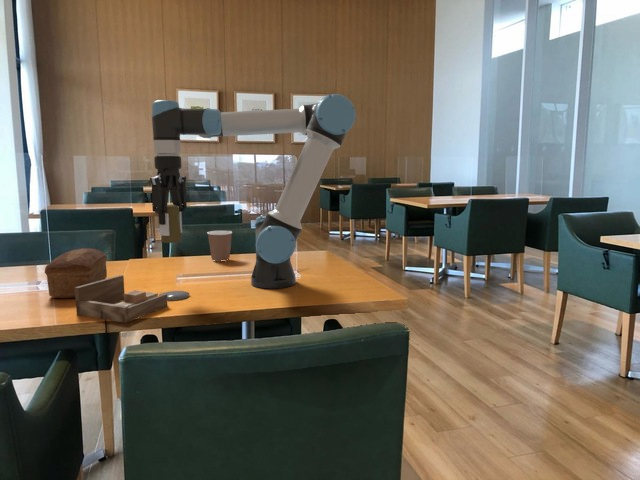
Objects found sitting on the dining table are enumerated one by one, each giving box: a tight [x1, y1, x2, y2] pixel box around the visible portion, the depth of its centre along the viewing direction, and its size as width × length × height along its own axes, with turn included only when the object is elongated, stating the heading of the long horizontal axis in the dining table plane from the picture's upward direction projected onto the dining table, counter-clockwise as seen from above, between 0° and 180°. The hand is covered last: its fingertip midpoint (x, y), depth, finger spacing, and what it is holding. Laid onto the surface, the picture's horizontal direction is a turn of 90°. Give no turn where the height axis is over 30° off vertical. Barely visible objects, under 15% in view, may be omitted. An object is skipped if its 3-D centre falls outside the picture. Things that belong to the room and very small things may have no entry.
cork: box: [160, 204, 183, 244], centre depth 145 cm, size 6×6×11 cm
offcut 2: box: [123, 289, 147, 304], centre depth 132 cm, size 4×4×6 cm
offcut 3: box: [145, 291, 159, 300], centre depth 137 cm, size 4×4×4 cm
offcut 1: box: [114, 301, 134, 306], centre depth 129 cm, size 4×4×4 cm
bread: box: [44, 247, 108, 299], centre depth 156 cm, size 14×28×12 cm, turn 12°
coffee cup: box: [206, 230, 233, 261], centre depth 203 cm, size 10×10×12 cm
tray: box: [74, 274, 168, 324], centre depth 134 cm, size 17×16×8 cm
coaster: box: [158, 290, 190, 302], centre depth 148 cm, size 9×9×1 cm
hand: (171, 233), depth 145 cm, fingers closed on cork, 5 cm apart
